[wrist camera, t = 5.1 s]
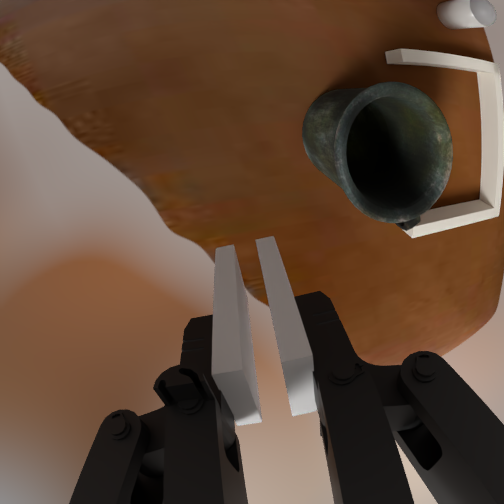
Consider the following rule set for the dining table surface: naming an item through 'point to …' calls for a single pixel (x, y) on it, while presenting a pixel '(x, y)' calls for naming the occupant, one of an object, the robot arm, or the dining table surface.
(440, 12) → the cylinder
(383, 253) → the dining table surface
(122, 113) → the dining table surface
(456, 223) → the corral
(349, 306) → the dining table surface
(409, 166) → the mug
